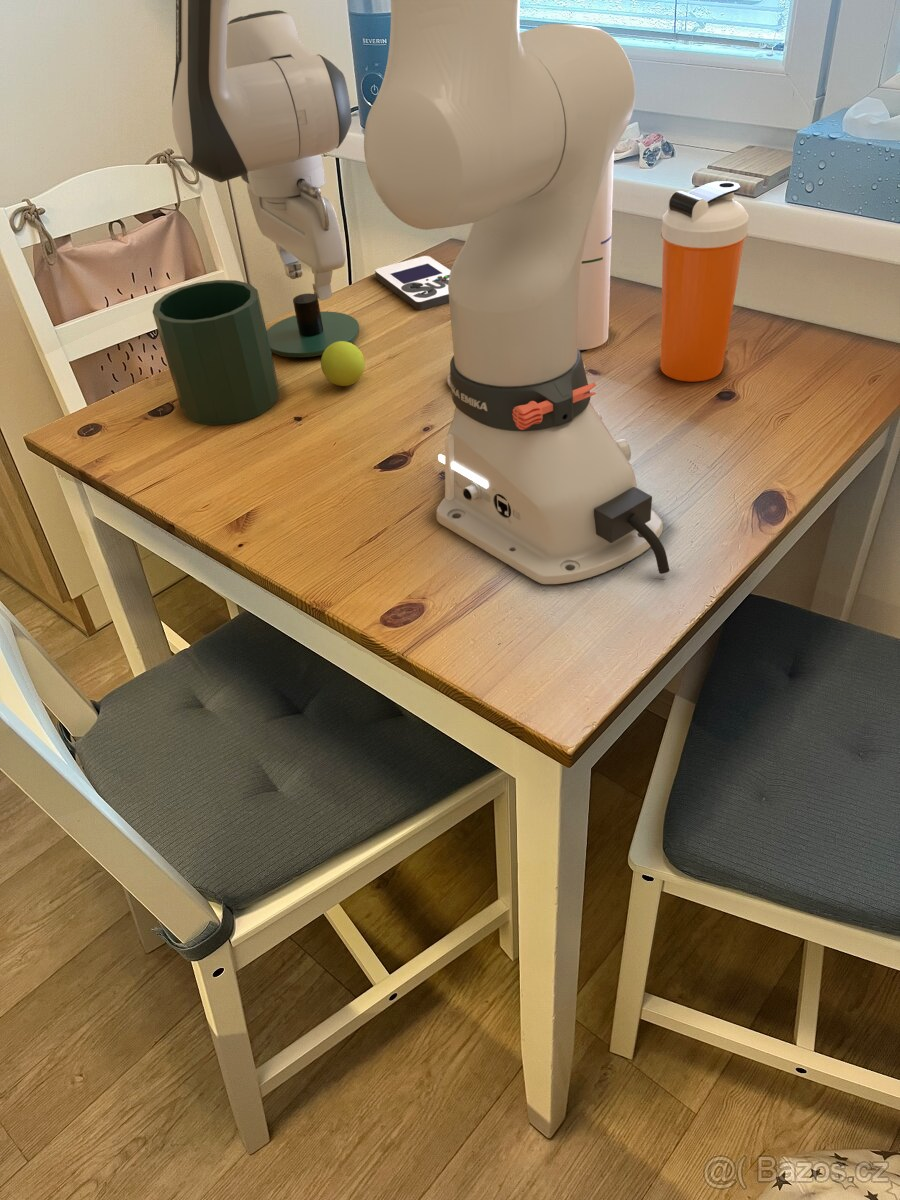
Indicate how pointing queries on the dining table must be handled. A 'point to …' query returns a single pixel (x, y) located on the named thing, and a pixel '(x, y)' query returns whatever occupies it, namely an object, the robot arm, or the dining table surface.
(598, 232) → the cylindrical container
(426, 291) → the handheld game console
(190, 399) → the canister
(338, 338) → the canister lid
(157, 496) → the dining table surface
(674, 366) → the shaker bottle
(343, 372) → the ball
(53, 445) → the dining table surface
